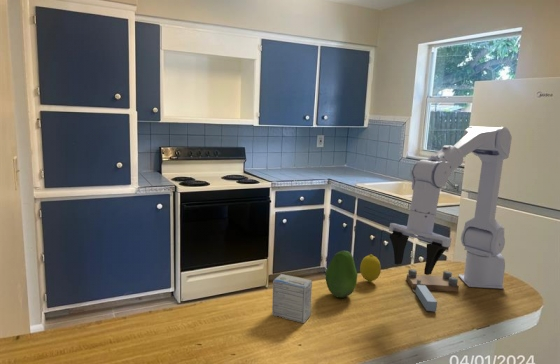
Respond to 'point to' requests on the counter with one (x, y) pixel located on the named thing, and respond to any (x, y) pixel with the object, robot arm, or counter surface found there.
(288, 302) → the medicine box
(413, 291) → the pivot pin
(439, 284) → the board
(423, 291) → the hinged leg
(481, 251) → the robot arm
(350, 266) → the avocado
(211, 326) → the counter surface
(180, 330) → the counter surface
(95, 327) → the counter surface
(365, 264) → the lemon
